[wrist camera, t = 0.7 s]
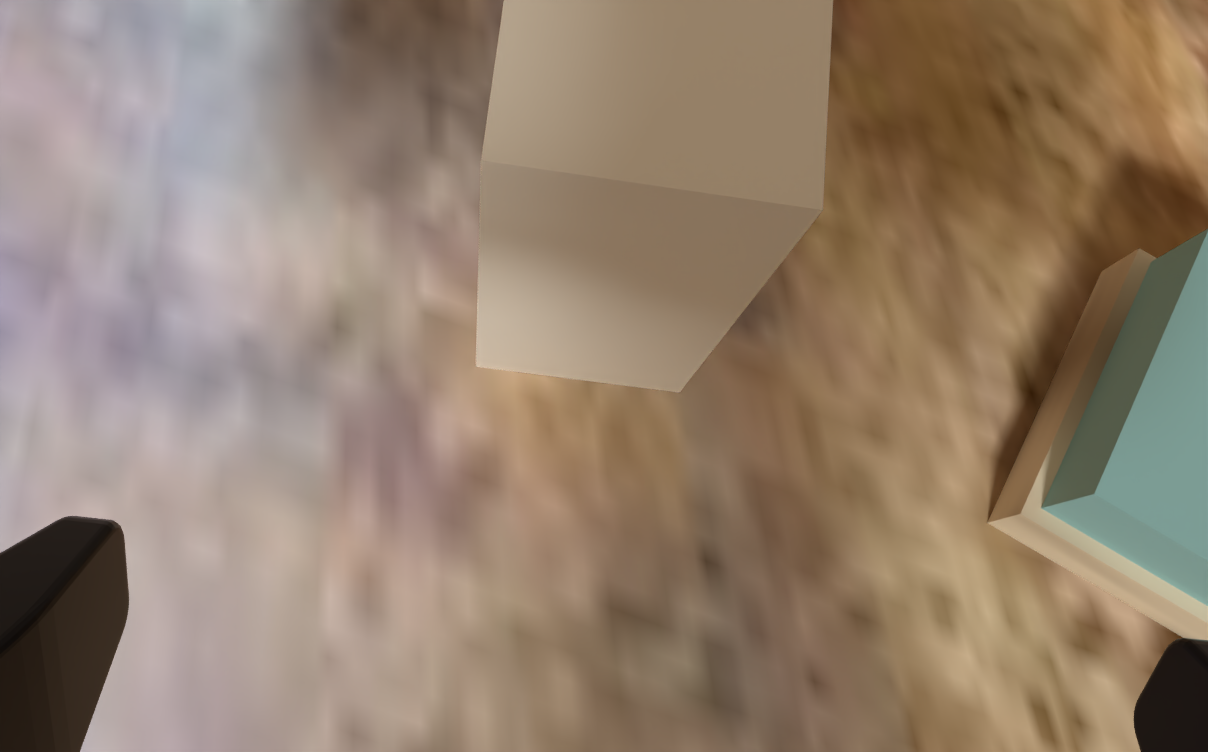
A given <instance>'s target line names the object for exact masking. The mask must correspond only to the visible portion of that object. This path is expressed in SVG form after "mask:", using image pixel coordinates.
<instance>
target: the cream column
mask: <svg viewBox="0 0 1208 752" xmlns="http://www.w3.org/2000/svg"><path fill="white" fill-rule="evenodd" d="M832 14H833V0H504V3H503V10H502V17H501V24H500V31H499V38H498V45H497V52H496V59H495V66H494V73H493V80H492V87H491V94H490V101H489V108H488V115H487V122H486V129H485V136H484V143H483V150H482V157H481V183H480V222H479V262H478V301H477V340H476V367H482V368H490V369H498V370H506V371H513V372H521V373H529V374H537V375H545V376H553V377H560V378H568V379H576V380H584V381H592V382H600V383H607V384H615V385H623V386H631V387H639V388H646V389H654V390H662V391H670V392H678V393H680V391H681V390H682V389H683V388H684V386H685V385H686V384H687V383H688V381H689V380H690V379H691V377H692V376H693V375H694V374H695V372H696V371H697V370H698V369H699V367H700V366H701V365H702V363H703V362H704V361H705V360H706V358H707V357H708V356H709V355H710V353H711V352H712V351H713V349H714V348H715V347H716V346H717V344H718V343H719V342H720V341H721V339H722V338H723V337H724V335H725V334H726V333H727V332H728V330H729V329H730V328H731V327H732V325H733V324H734V323H735V321H736V320H737V319H738V318H739V316H740V315H741V314H742V313H743V311H744V310H745V309H746V307H747V306H748V305H749V304H750V302H751V301H752V300H753V299H754V297H755V296H756V295H757V293H758V292H759V291H760V290H761V288H762V287H763V286H764V285H765V283H766V282H767V281H768V280H769V278H770V277H771V276H772V274H773V273H774V272H775V271H776V269H777V268H778V267H779V266H780V264H781V263H782V262H783V260H784V259H785V258H786V257H787V255H788V254H789V253H790V252H791V250H792V249H793V248H794V246H795V245H796V244H797V243H798V241H799V240H800V239H801V238H802V236H803V235H804V234H805V232H806V231H807V230H808V229H809V227H810V226H811V225H812V224H813V222H814V221H815V220H816V218H817V217H818V216H819V215H820V213H821V212H822V211H823V201H824V180H825V159H826V138H827V118H828V97H829V76H830V55H831V34H832Z"/></svg>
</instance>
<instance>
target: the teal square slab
mask: <svg viewBox="0 0 1208 752" xmlns="http://www.w3.org/2000/svg"><path fill="white" fill-rule="evenodd" d="M1041 509H1043V510H1045V511H1047V512H1048V513H1050V514H1052V515H1053V516H1055V517H1057V518H1058V519H1060V520H1062V521H1064V522H1065V523H1067V524H1069V525H1070V526H1072V527H1074V528H1075V529H1077V530H1079V531H1081V532H1082V533H1084V534H1086V535H1087V536H1089V537H1091V538H1092V539H1094V540H1096V541H1098V542H1099V543H1101V544H1103V545H1104V546H1106V547H1108V548H1109V549H1111V550H1113V551H1115V552H1116V553H1118V554H1120V555H1121V556H1123V557H1125V558H1126V559H1128V560H1130V561H1132V562H1133V563H1135V564H1137V565H1138V566H1140V567H1142V568H1143V569H1145V570H1147V571H1149V572H1150V573H1152V574H1154V575H1155V576H1157V577H1159V578H1160V579H1162V580H1164V581H1166V582H1167V583H1169V584H1171V585H1172V586H1174V587H1176V588H1177V589H1179V590H1181V591H1183V592H1184V593H1186V594H1188V595H1189V596H1191V597H1193V598H1194V599H1196V600H1198V601H1200V602H1201V603H1203V604H1205V605H1206V606H1208V229H1206V230H1205V231H1203V232H1201V233H1200V234H1198V235H1196V236H1194V237H1193V238H1191V239H1189V240H1188V241H1186V242H1184V243H1183V244H1181V245H1179V246H1177V247H1176V248H1174V249H1172V250H1171V251H1169V252H1167V253H1165V254H1164V255H1162V256H1160V257H1159V258H1157V259H1155V260H1154V261H1152V262H1151V263H1150V266H1149V268H1148V270H1147V272H1146V275H1145V277H1144V279H1143V281H1142V284H1141V286H1140V288H1139V290H1138V293H1137V295H1136V297H1135V299H1134V301H1133V304H1132V306H1131V308H1130V310H1129V313H1128V315H1127V317H1126V319H1125V322H1124V324H1123V326H1122V328H1121V331H1120V333H1119V335H1118V337H1117V340H1116V342H1115V344H1114V346H1113V348H1112V351H1111V353H1110V355H1109V357H1108V360H1107V362H1106V364H1105V366H1104V369H1103V371H1102V373H1101V375H1100V378H1099V380H1098V382H1097V384H1096V387H1095V389H1094V391H1093V393H1092V395H1091V398H1090V400H1089V402H1088V404H1087V407H1086V409H1085V411H1084V413H1083V416H1082V418H1081V420H1080V422H1079V425H1078V427H1077V429H1076V431H1075V434H1074V436H1073V438H1072V440H1071V442H1070V445H1069V447H1068V449H1067V451H1066V454H1065V456H1064V458H1063V460H1062V463H1061V465H1060V467H1059V469H1058V472H1057V474H1056V476H1055V478H1054V481H1053V483H1052V485H1051V487H1050V489H1049V492H1048V494H1047V496H1046V498H1045V501H1044V503H1043V505H1042V507H1041Z"/></svg>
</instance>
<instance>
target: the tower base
mask: <svg viewBox="0 0 1208 752" xmlns="http://www.w3.org/2000/svg"><path fill="white" fill-rule="evenodd" d="M1155 259H1157V258H1156V257H1154V256H1152V255H1150V254H1149V253H1147V252H1145V251H1143V250H1142V249H1140V248H1138V249H1137V250H1135V251H1134V252H1132V253H1130V254H1129V255H1127V256H1125V257H1124V258H1122V259H1121V260H1119V261H1117V262H1116V263H1114V264H1113V265H1111V266H1109V267H1108V268H1106V269H1104V270H1103V271H1102V272H1101V274H1100V276H1099V278H1098V280H1097V283H1096V285H1095V287H1094V289H1093V291H1092V294H1091V296H1090V298H1089V300H1088V302H1087V305H1086V307H1085V309H1084V311H1083V313H1082V316H1081V318H1080V320H1079V322H1078V324H1077V327H1076V329H1075V331H1074V333H1073V335H1072V338H1071V340H1070V342H1069V344H1068V346H1067V349H1066V351H1065V353H1064V355H1063V357H1062V360H1061V362H1060V364H1059V366H1058V368H1057V371H1056V373H1055V375H1054V377H1053V379H1052V382H1051V384H1050V386H1049V388H1048V390H1047V393H1046V395H1045V397H1044V399H1043V401H1042V404H1041V406H1040V408H1039V410H1038V412H1037V415H1036V417H1035V419H1034V421H1033V423H1032V426H1031V428H1030V430H1029V432H1028V434H1027V437H1026V439H1025V441H1024V443H1023V445H1022V448H1021V450H1020V452H1019V454H1018V456H1017V459H1016V461H1015V463H1014V465H1013V467H1012V470H1011V472H1010V474H1009V476H1008V478H1007V481H1006V483H1005V485H1004V487H1003V489H1002V492H1001V494H1000V496H999V498H998V500H997V503H996V505H995V507H994V509H993V511H992V514H991V516H990V518H989V520H988V522H987V523H988V524H990V525H992V526H994V527H995V528H997V529H999V530H1000V531H1002V532H1004V533H1006V534H1007V535H1009V536H1011V537H1012V538H1014V539H1016V540H1017V541H1019V542H1021V543H1023V544H1024V545H1026V546H1028V547H1029V548H1031V549H1033V550H1035V551H1036V552H1038V553H1040V554H1041V555H1043V556H1045V557H1047V558H1048V559H1050V560H1052V561H1053V562H1055V563H1057V564H1058V565H1060V566H1062V567H1064V568H1065V569H1067V570H1069V571H1070V572H1072V573H1074V574H1076V575H1077V576H1079V577H1081V578H1082V579H1084V580H1086V581H1088V582H1089V583H1091V584H1093V585H1094V586H1096V587H1098V588H1100V589H1101V590H1103V591H1105V592H1106V593H1108V594H1110V595H1111V596H1113V597H1115V598H1117V599H1118V600H1120V601H1122V602H1123V603H1125V604H1127V605H1129V606H1130V607H1132V608H1134V609H1135V610H1137V611H1139V612H1141V613H1142V614H1144V615H1146V616H1147V617H1149V618H1151V619H1152V620H1154V621H1156V622H1158V623H1159V624H1161V625H1163V626H1164V627H1166V628H1168V629H1170V630H1171V631H1173V632H1175V633H1176V634H1178V635H1180V636H1182V637H1183V638H1190V639H1200V640H1208V606H1206V605H1205V604H1203V603H1201V602H1200V601H1198V600H1196V599H1194V598H1193V597H1191V596H1189V595H1188V594H1186V593H1184V592H1183V591H1181V590H1179V589H1177V588H1176V587H1174V586H1172V585H1171V584H1169V583H1167V582H1166V581H1164V580H1162V579H1160V578H1159V577H1157V576H1155V575H1154V574H1152V573H1150V572H1149V571H1147V570H1145V569H1143V568H1142V567H1140V566H1138V565H1137V564H1135V563H1133V562H1132V561H1130V560H1128V559H1126V558H1125V557H1123V556H1121V555H1120V554H1118V553H1116V552H1115V551H1113V550H1111V549H1109V548H1108V547H1106V546H1104V545H1103V544H1101V543H1099V542H1098V541H1096V540H1094V539H1092V538H1091V537H1089V536H1087V535H1086V534H1084V533H1082V532H1081V531H1079V530H1077V529H1075V528H1074V527H1072V526H1070V525H1069V524H1067V523H1065V522H1064V521H1062V520H1060V519H1058V518H1057V517H1055V516H1053V515H1052V514H1050V513H1048V512H1047V511H1045V510H1043V509H1041V507H1042V505H1043V503H1044V501H1045V498H1046V496H1047V494H1048V492H1049V489H1050V487H1051V485H1052V483H1053V481H1054V478H1055V476H1056V474H1057V472H1058V469H1059V467H1060V465H1061V463H1062V460H1063V458H1064V456H1065V454H1066V451H1067V449H1068V447H1069V445H1070V442H1071V440H1072V438H1073V436H1074V434H1075V431H1076V429H1077V427H1078V425H1079V422H1080V420H1081V418H1082V416H1083V413H1084V411H1085V409H1086V407H1087V404H1088V402H1089V400H1090V398H1091V395H1092V393H1093V391H1094V389H1095V387H1096V384H1097V382H1098V380H1099V378H1100V375H1101V373H1102V371H1103V369H1104V366H1105V364H1106V362H1107V360H1108V357H1109V355H1110V353H1111V351H1112V348H1113V346H1114V344H1115V342H1116V340H1117V337H1118V335H1119V333H1120V331H1121V328H1122V326H1123V324H1124V322H1125V319H1126V317H1127V315H1128V313H1129V310H1130V308H1131V306H1132V304H1133V301H1134V299H1135V297H1136V295H1137V293H1138V290H1139V288H1140V286H1141V284H1142V281H1143V279H1144V277H1145V275H1146V272H1147V270H1148V268H1149V266H1150V263H1151V262H1152V261H1154V260H1155Z"/></svg>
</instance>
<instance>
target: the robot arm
mask: <svg viewBox="0 0 1208 752" xmlns="http://www.w3.org/2000/svg"><path fill="white" fill-rule="evenodd" d="M128 608H129V592H128V579H127V566H126V553H125V541H124V534H123V531H122V529H121V526H120V525H119V524H118V523H116V522H115V521H113V520H106V519H97V518H88V517H79V516H67V517H64V518H62V519H59V520H57V521H55V522H54V523H52V524H50V525H48V526H47V527H45V528H43V529H41V530H40V531H38V532H36V533H34V534H33V535H31V536H29V537H27V538H26V539H24V540H22V541H21V542H19V543H17V544H15V545H14V546H12V547H10V548H8V549H7V550H5V551H3V552H1V553H0V752H80V750H81V747H82V744H83V741H84V739H85V736H86V733H87V730H88V728H89V725H90V722H91V719H92V716H93V714H94V711H95V708H96V705H97V703H98V700H99V697H100V694H101V691H102V689H103V686H104V683H105V680H106V678H107V675H108V672H109V669H110V667H111V664H112V661H113V658H114V655H115V653H116V650H117V647H118V644H119V642H120V639H121V636H122V633H123V630H124V627H125V624H126V620H127V615H128ZM1134 728H1135V733H1136V737H1137V740H1138V744H1139V747H1140V750H1141V752H1208V640H1200V639H1190V638H1181V639H1176V640H1175V641H1173V642H1172V643H1171V644H1169V645H1168V647H1167V648H1166V649H1165V651H1164V653H1163V655H1162V656H1161V658H1160V660H1159V662H1158V664H1157V665H1156V667H1155V669H1154V671H1153V673H1152V674H1151V676H1150V678H1149V680H1148V682H1147V684H1146V685H1145V687H1144V689H1143V691H1142V693H1141V694H1140V696H1139V698H1138V700H1137V702H1136V706H1135V710H1134Z"/></svg>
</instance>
